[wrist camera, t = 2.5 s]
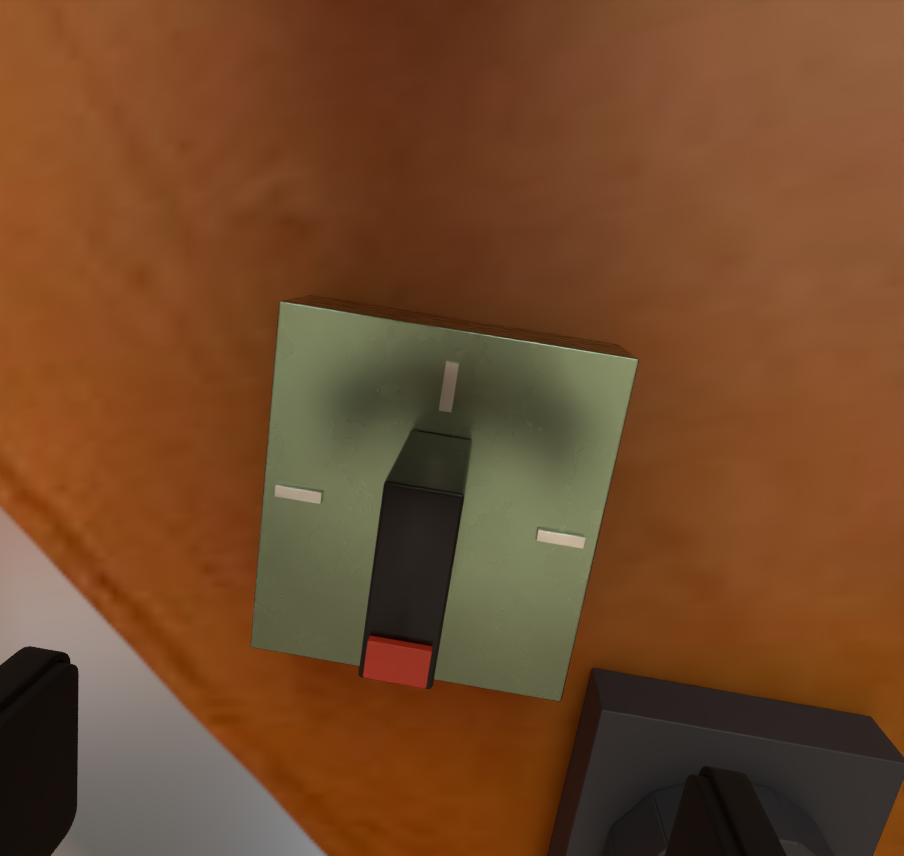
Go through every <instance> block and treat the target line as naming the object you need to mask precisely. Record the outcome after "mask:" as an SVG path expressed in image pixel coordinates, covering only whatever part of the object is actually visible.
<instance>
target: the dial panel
mask: <svg viewBox="0 0 904 856" xmlns="http://www.w3.org/2000/svg"><path fill="white" fill-rule="evenodd" d="M638 363H639V359H638V358H636V357H635V356H633V355H632V354H631V353H629V352H628V351H626V350H625V349H624V348H622V347H621V346H619V345H616V344H610V343H604V342H597V341H591V340H585V339H579V338H572V337H566V336H560V335H554V334H548V333H541V332H535V331H529V330H523V329H517V328H510V327H504V326H498V325H492V324H486V323H479V322H473V321H467V320H461V319H455V318H448V317H442V316H436V315H430V314H424V313H417V312H411V311H405V310H399V309H392V308H386V307H380V306H374V305H368V304H361V303H355V302H349V301H343V300H337V299H330V298H324V297H318V296H312V295H309V296H304V297H299V298H294V299H289V300H283V301H280V302H279V310H278V322H277V334H276V346H275V358H274V370H273V382H272V394H271V406H270V418H269V430H268V442H267V454H266V467H265V479H264V491H263V503H262V515H261V527H260V539H259V551H258V563H257V575H256V587H255V599H254V611H253V623H252V636H251V647H253V648H259V649H264V650H270V651H276V652H281V653H287V654H293V655H298V656H304V657H310V658H315V659H321V660H327V661H332V662H338V663H344V664H349V665H355V666H359V665H360V658H361V650H362V643H363V635H364V628H365V620H366V612H367V605H368V597H369V590H370V582H371V575H372V567H373V560H374V552H375V545H376V537H377V530H378V522H379V515H380V507H381V500H382V492H383V485H384V482H385V480H386V478H387V476H388V474H389V472H390V470H391V468H392V466H393V464H394V462H395V461H396V459H397V457H398V455H399V453H400V451H401V449H402V447H403V445H404V443H405V441H406V439H407V437H408V435H409V433H410V431H417V432H423V433H430V434H436V435H442V436H448V437H454V438H460V439H466V440H470V441H472V448H471V455H470V462H469V469H468V476H467V484H466V491H465V498H464V503H463V509H462V515H461V521H460V527H459V533H458V539H457V545H456V551H455V557H454V563H453V569H452V575H451V581H450V587H449V593H448V599H447V605H446V610H445V616H444V622H443V628H442V634H441V640H440V646H439V652H438V658H437V664H436V670H435V676H434V680H440V681H445V682H451V683H457V684H462V685H468V686H474V687H479V688H485V689H491V690H496V691H502V692H508V693H513V694H519V695H525V696H530V697H536V698H542V699H547V700H553V701H559V702H560V701H561V699H562V695H563V690H564V686H565V682H566V677H567V673H568V669H569V664H570V660H571V656H572V651H573V647H574V642H575V638H576V634H577V629H578V625H579V621H580V616H581V612H582V607H583V603H584V599H585V594H586V590H587V586H588V581H589V577H590V572H591V568H592V564H593V559H594V555H595V551H596V546H597V542H598V538H599V533H600V529H601V524H602V520H603V516H604V511H605V507H606V503H607V498H608V494H609V489H610V485H611V481H612V476H613V472H614V468H615V463H616V459H617V454H618V450H619V446H620V441H621V437H622V433H623V428H624V424H625V420H626V415H627V411H628V406H629V402H630V398H631V393H632V389H633V385H634V380H635V376H636V371H637V367H638Z"/></svg>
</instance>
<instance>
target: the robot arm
mask: <svg viewBox="0 0 904 856" xmlns="http://www.w3.org/2000/svg"><path fill="white" fill-rule="evenodd" d="M77 754H78V668H77V667H76V666H75V665H73V664H70V658H69V656H68V654H66V653H64V652H59V651H53V650H48V649H42V648H36V647H30V646H29V647H24V648H23V649H21V650H19V651H18V652H16V653H15V654H14V655H13V656H11V657H10V658H9V659H8V660H6V661H5V662H4V663H3V664H1V665H0V856H51V854H52V853H53V852H54V850H55V849H56V848H57V846H58V845H59V844H60V842H61V841H62V840H63V839H64V837H65V836H66V834H67V833H68V831H69V829H70V827H71V825H72V823H73V821H74V818H75V814H76V810H77V759H78V755H77ZM665 856H787V855H786V853H785V851H784V849H783V847H782V845H781V843H780V841H779V839H778V837H777V835H776V833H775V831H774V829H773V827H772V825H771V823H770V820H769V818H768V816H767V814H766V812H765V810H764V808H763V806H762V804H761V802H760V800H759V798H758V796H757V794H756V792H755V790H754V788H753V786H752V784H751V782H750V780H749V778H748V777H747V775H745V774H744V773H742V772H737V771H731V770H725V769H720V768H714V767H708V766H705V767H703V768H702V769H701V770H700V772H699V774H698V775H693V774H692V775H689V776H688V777H687V780H686V783H685V786H684V790H683V793H682V797H681V800H680V804H679V807H678V811H677V814H676V818H675V821H674V825H673V828H672V832H671V835H670V839H669V842H668V846H667V849H666V853H665Z"/></svg>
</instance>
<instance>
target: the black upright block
mask: <svg viewBox="0 0 904 856" xmlns="http://www.w3.org/2000/svg"><path fill="white" fill-rule="evenodd" d="M471 448H472V441H470V440H466V439H460V438H454V437H448V436H442V435H436V434H430V433H423V432H417V431H410V433H409V435H408V437H407V439H406V441H405V443H404V445H403V447H402V449H401V451H400V453H399V455H398V457H397V459H396V461H395V462H394V464H393V466H392V468H391V470H390V472H389V474H388V476H387V478H386V480H385V482H384V485H383V492H382V500H381V507H380V515H379V522H378V530H377V537H376V545H375V552H374V560H373V567H372V575H371V582H370V590H369V597H368V605H367V612H366V620H365V628H364V635H363V643H362V650H361V658H360V665H359V676H360V677H364V678H369V679H374V680H380V681H386V682H391V683H397V684H403V685H408V686H414V687H420V688H426V689H431V688H432V686H433V682H434V676H435V670H436V664H437V658H438V652H439V646H440V640H441V634H442V628H443V622H444V616H445V610H446V605H447V599H448V593H449V587H450V581H451V575H452V569H453V563H454V557H455V551H456V545H457V539H458V533H459V527H460V521H461V515H462V509H463V503H464V498H465V491H466V484H467V476H468V469H469V462H470V455H471Z"/></svg>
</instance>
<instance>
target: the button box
mask: <svg viewBox="0 0 904 856" xmlns="http://www.w3.org/2000/svg"><path fill="white" fill-rule="evenodd" d="M705 766H708V767H714V768H720V769H725V770H731V771H737V772H742V773H744V774H745V775H747V777H748V778H749V780H750V782H751V784H752V786H753V788H754V790H755V792H756V794H757V796H758V798H759V800H760V802H761V804H762V806H763V808H764V810H765V812H766V814H767V816H768V818H769V820H770V823H771V825H772V827H773V829H774V831H775V833H776V835H777V837H778V839H779V841H780V843H781V845H782V847H783V849H784V851H785V853H786V855H787V856H873V854H874V851H875V849H876V846H877V844H878V841H879V839H880V836H881V834H882V831H883V829H884V826H885V824H886V821H887V819H888V816H889V814H890V811H891V809H892V807H893V804H894V802H895V799H896V797H897V794H898V792H899V789H900V787H901V784H902V782H903V779H904V757H903V756H902V755H901V753H900V752H899V751H898V750H897V748H896V747H895V746H894V745H893V744H892V742H891V741H890V740H889V739H888V737H887V736H886V735H885V734H884V732H883V731H882V730H881V729H880V728H879V726H878V725H877V724H876V723H875V721H874V720H873V719H872V718H871V717H869V716H863V715H857V714H852V713H846V712H840V711H834V710H829V709H823V708H817V707H812V706H806V705H800V704H795V703H789V702H783V701H777V700H772V699H766V698H760V697H755V696H749V695H743V694H737V693H732V692H726V691H720V690H715V689H709V688H703V687H697V686H692V685H686V684H680V683H675V682H669V681H663V680H657V679H652V678H646V677H640V676H635V675H629V674H623V673H617V672H612V671H606V670H600V669H595V668H593V669H592V672H591V676H590V680H589V684H588V688H587V693H586V697H585V701H584V705H583V709H582V713H581V718H580V722H579V726H578V730H577V734H576V739H575V743H574V747H573V751H572V755H571V759H570V764H569V768H568V772H567V776H566V780H565V784H564V789H563V793H562V797H561V801H560V805H559V809H558V814H557V818H556V822H555V826H554V830H553V834H552V839H551V843H550V847H549V851H548V855H547V856H665V853H666V849H667V846H668V842H669V839H670V835H671V832H672V828H673V825H674V821H675V818H676V814H677V811H678V807H679V804H680V800H681V797H682V793H683V790H684V786H685V783H686V780H687V777H688V776H689V775H692V774H693V775H698V774H699V772H700V770H701V769H702V768H703V767H705Z"/></svg>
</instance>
